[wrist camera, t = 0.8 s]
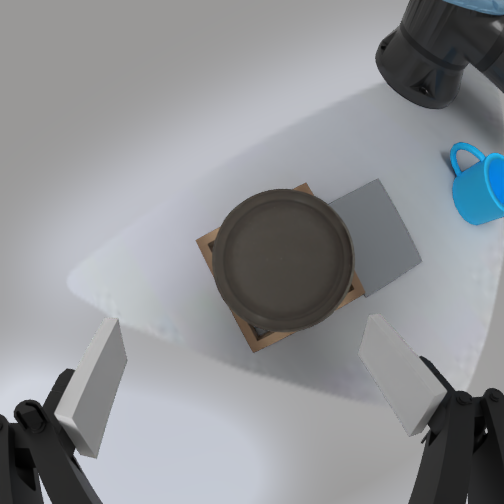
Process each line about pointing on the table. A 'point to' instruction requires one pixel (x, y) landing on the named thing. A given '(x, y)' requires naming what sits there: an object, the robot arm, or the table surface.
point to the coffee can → (283, 260)
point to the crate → (246, 328)
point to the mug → (479, 186)
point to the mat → (376, 236)
